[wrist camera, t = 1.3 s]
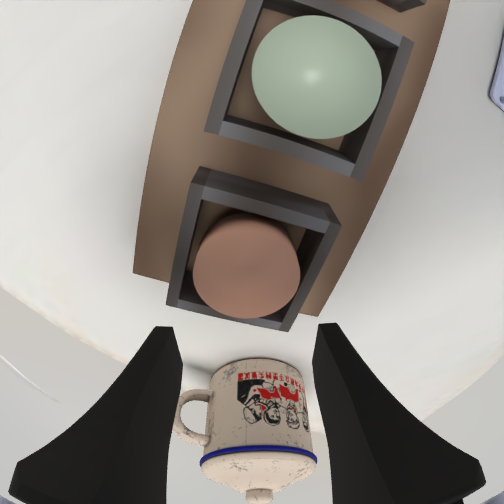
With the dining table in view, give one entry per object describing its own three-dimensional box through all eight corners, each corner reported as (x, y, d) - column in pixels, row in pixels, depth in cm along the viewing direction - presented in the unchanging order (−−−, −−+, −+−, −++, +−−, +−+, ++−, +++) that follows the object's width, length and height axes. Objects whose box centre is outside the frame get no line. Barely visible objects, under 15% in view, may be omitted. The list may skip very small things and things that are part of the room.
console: (443, -41, 9) (484, -57, 5) (312, 297, 21) (325, 346, 17) (259, -116, 7) (261, -155, 3) (141, 255, 19) (119, 300, 15)
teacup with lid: (324, 370, 26) (347, 489, 16) (273, 414, 30) (279, 513, 20) (198, 329, 23) (177, 474, 13) (165, 385, 27) (146, 495, 17)
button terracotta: (309, 228, 15) (317, 247, 13) (276, 303, 17) (278, 326, 15) (210, 201, 14) (205, 218, 12) (190, 283, 16) (184, 305, 15)
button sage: (378, 51, 10) (396, 48, 9) (343, 146, 12) (356, 156, 11) (271, 9, 9) (275, -2, 8) (236, 111, 12) (235, 115, 10)
